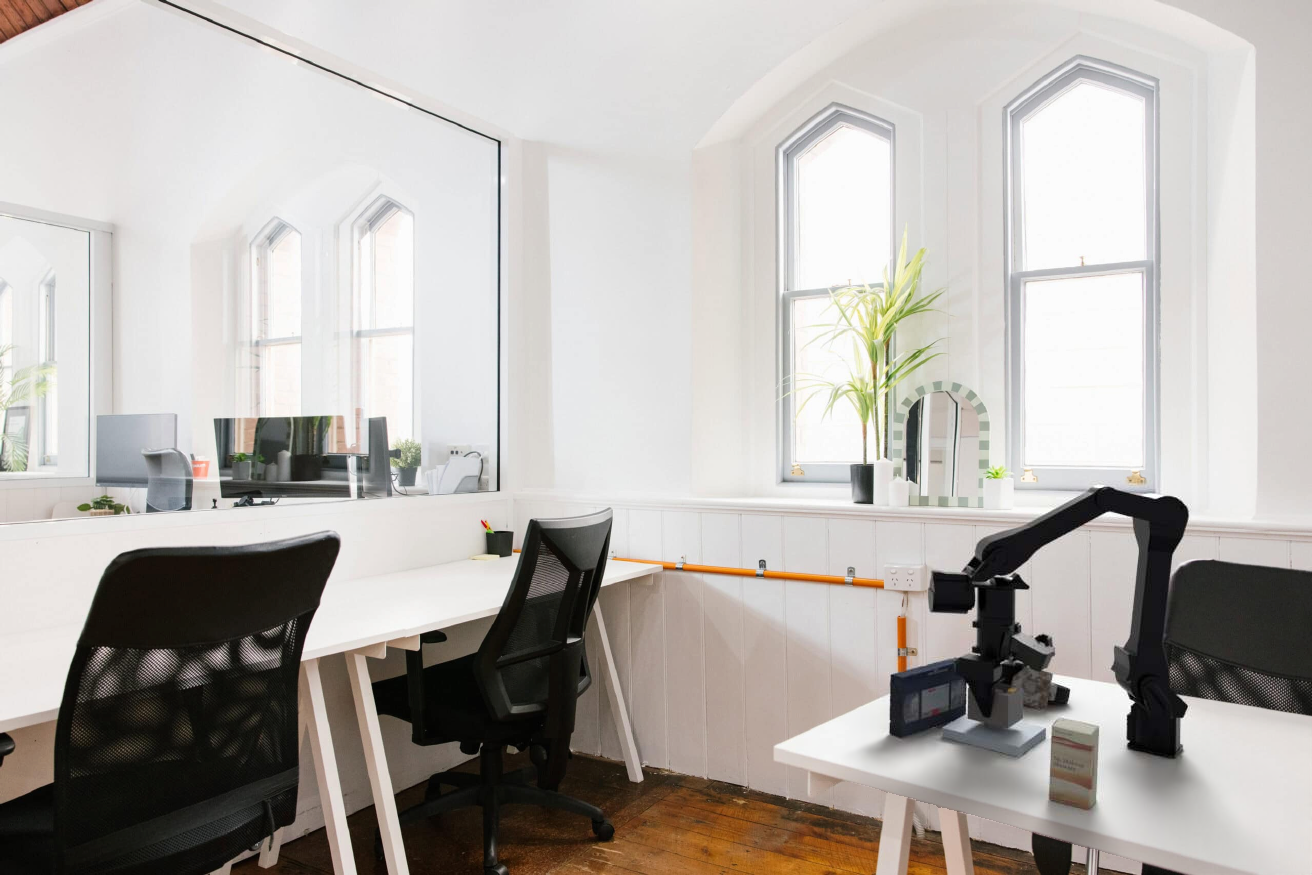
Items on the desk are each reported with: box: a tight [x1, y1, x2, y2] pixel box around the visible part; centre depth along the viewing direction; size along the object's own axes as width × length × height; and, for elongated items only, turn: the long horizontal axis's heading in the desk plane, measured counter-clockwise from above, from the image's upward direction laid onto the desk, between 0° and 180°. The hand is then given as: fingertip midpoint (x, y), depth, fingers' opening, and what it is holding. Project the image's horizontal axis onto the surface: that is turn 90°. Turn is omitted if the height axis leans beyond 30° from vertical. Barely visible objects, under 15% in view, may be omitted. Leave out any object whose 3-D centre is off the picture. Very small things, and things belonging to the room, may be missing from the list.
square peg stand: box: [941, 688, 1047, 758], centre depth 135 cm, size 12×12×8 cm
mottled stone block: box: [1013, 666, 1071, 710], centre depth 154 cm, size 7×11×10 cm
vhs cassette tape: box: [888, 657, 968, 739], centre depth 140 cm, size 18×3×10 cm, turn 126°
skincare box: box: [1048, 717, 1100, 811], centre depth 112 cm, size 5×4×10 cm
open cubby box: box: [967, 683, 1024, 728], centre depth 135 cm, size 6×6×5 cm
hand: (994, 712), depth 135 cm, fingers closed on open cubby box, 6 cm apart
